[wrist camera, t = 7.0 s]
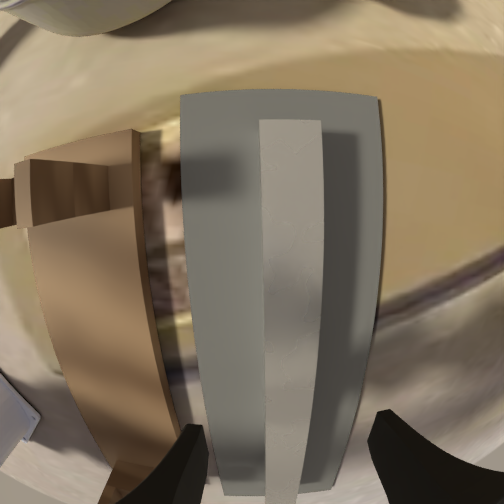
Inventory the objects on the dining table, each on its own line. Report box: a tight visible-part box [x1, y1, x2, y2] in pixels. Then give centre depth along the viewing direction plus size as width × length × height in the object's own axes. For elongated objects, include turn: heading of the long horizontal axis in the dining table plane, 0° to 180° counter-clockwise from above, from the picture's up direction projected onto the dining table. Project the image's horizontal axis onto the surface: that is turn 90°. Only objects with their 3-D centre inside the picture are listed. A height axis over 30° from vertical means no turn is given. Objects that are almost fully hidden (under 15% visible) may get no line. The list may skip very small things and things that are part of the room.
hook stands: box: [0, 129, 181, 504], centre depth 11 cm, size 25×7×6 cm, turn 2°
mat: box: [180, 89, 383, 496], centre depth 14 cm, size 28×9×1 cm, turn 2°
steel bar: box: [258, 119, 324, 504], centre depth 13 cm, size 24×2×2 cm, turn 2°
